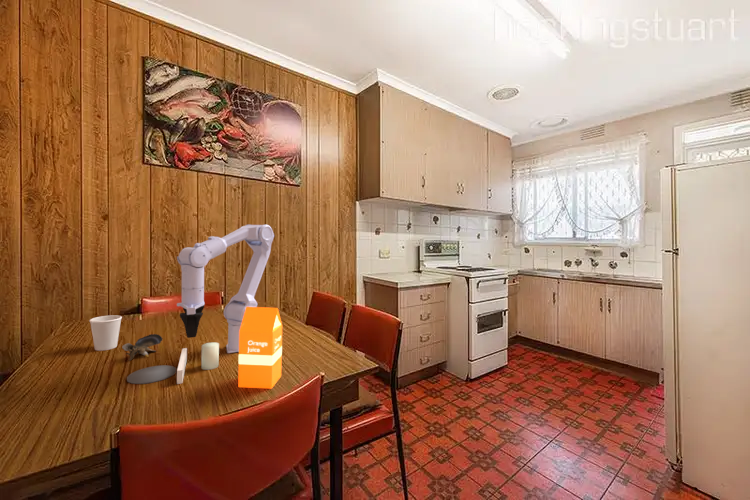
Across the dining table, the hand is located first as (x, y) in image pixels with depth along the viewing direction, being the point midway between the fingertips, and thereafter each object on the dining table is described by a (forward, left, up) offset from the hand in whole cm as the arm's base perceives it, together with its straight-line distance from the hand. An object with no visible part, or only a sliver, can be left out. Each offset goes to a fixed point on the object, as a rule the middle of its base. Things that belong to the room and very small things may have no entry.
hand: (192, 333), depth 93 cm
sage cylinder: (-5, +3, -10) cm, 11 cm away
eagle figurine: (+14, -14, -10) cm, 22 cm away
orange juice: (-17, +19, -10) cm, 27 cm away
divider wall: (+2, +3, -10) cm, 10 cm away
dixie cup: (+26, -28, -10) cm, 39 cm away
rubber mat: (+9, +3, -10) cm, 14 cm away
